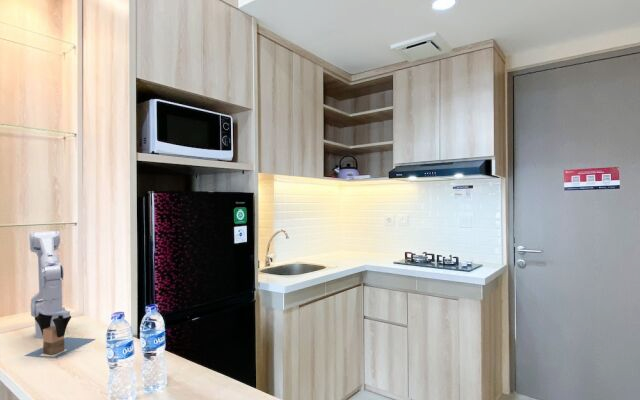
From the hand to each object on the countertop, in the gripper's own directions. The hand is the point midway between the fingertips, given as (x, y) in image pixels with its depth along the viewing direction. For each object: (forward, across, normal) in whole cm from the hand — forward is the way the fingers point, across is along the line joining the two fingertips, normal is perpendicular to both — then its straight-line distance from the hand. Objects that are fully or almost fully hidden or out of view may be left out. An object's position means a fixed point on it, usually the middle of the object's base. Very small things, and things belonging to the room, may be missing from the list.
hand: (53, 335), depth 137 cm
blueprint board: (+7, +2, -5) cm, 9 cm away
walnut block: (+6, 0, 0) cm, 6 cm away
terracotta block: (+2, 0, 0) cm, 2 cm away
